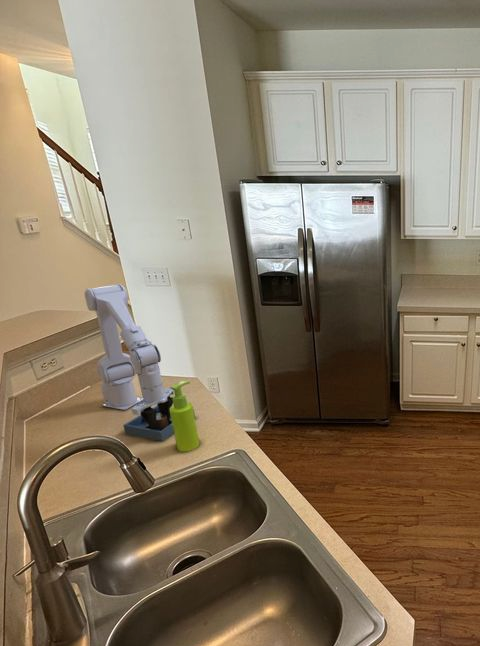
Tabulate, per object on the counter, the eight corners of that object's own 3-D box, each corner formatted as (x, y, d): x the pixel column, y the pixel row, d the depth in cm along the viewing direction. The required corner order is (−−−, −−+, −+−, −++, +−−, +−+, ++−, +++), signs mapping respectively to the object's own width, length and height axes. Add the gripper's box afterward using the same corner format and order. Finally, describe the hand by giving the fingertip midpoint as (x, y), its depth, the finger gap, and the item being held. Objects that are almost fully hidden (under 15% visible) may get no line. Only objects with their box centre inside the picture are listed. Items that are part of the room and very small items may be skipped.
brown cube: (149, 430, 132) (146, 419, 130) (160, 423, 136) (158, 412, 134) (161, 432, 130) (158, 421, 129) (172, 425, 134) (169, 414, 133)
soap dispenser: (206, 440, 130) (195, 381, 123) (188, 453, 124) (176, 391, 117) (190, 436, 132) (179, 377, 125) (172, 449, 126) (159, 388, 119)
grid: (125, 433, 133) (123, 425, 132) (160, 411, 145) (159, 403, 144) (162, 441, 129) (160, 432, 128) (195, 418, 142) (193, 410, 141)
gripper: (142, 397, 120) (151, 438, 125) (180, 376, 133) (187, 414, 138) (122, 393, 122) (132, 434, 127) (162, 373, 135) (169, 411, 140)
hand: (160, 424), depth 132 cm, fingers closed on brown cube, 4 cm apart
